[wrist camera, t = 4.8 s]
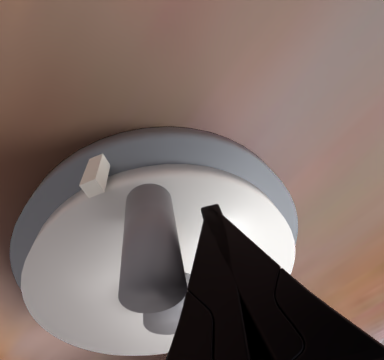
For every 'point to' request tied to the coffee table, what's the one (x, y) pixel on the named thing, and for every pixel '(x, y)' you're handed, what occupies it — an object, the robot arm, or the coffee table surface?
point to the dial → (137, 255)
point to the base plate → (135, 158)
